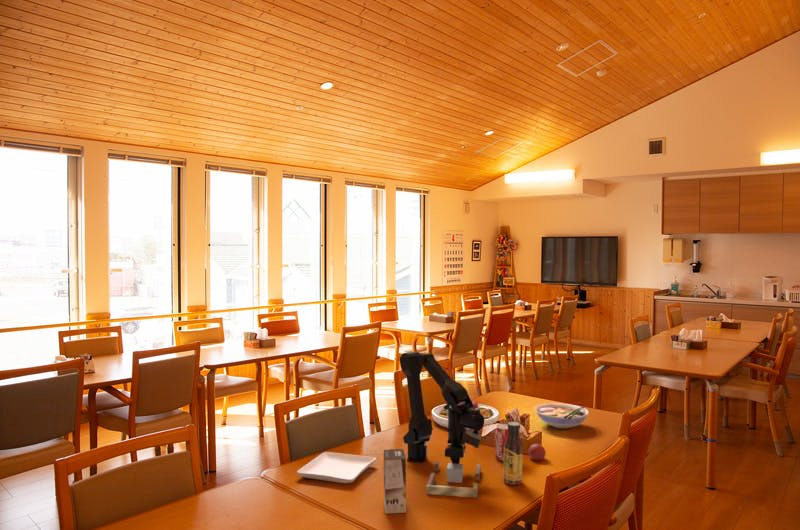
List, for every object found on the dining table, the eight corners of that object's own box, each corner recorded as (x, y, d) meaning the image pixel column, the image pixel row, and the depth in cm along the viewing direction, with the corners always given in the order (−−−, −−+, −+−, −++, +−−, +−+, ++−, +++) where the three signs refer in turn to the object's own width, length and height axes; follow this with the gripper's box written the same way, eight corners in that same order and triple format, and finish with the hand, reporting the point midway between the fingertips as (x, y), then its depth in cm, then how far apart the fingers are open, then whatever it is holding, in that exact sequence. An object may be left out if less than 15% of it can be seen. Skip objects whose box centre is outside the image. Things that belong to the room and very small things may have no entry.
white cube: (446, 481, 191) (446, 468, 191) (448, 476, 196) (448, 463, 196) (461, 482, 190) (461, 469, 190) (463, 477, 195) (463, 464, 195)
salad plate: (295, 480, 194) (295, 470, 194) (324, 459, 214) (324, 450, 214) (352, 489, 187) (352, 479, 186) (377, 466, 206) (377, 457, 206)
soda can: (514, 462, 209) (514, 429, 208) (494, 461, 210) (494, 428, 210) (514, 455, 216) (514, 424, 215) (495, 454, 217) (495, 423, 217)
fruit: (527, 462, 214) (520, 446, 211) (536, 452, 217) (529, 436, 214) (541, 467, 209) (534, 451, 206) (549, 456, 212) (542, 440, 210)
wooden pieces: (426, 493, 182) (426, 486, 182) (435, 468, 204) (435, 461, 204) (476, 497, 179) (476, 489, 179) (480, 471, 201) (480, 464, 201)
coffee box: (406, 513, 168) (406, 459, 168) (384, 514, 168) (384, 459, 168) (403, 499, 178) (403, 448, 177) (383, 500, 177) (382, 449, 177)
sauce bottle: (499, 480, 192) (499, 421, 192) (515, 477, 195) (515, 419, 194) (510, 487, 186) (510, 426, 186) (526, 484, 189) (526, 424, 188)
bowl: (504, 432, 244) (503, 414, 244) (433, 432, 245) (433, 414, 244) (493, 413, 274) (493, 396, 274) (430, 413, 275) (430, 396, 274)
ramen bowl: (547, 415, 268) (547, 398, 268) (596, 424, 255) (596, 405, 255) (525, 429, 248) (525, 410, 248) (577, 439, 235) (577, 419, 234)
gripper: (478, 433, 186) (478, 481, 187) (481, 417, 205) (481, 460, 205) (444, 431, 188) (444, 478, 189) (450, 415, 207) (450, 458, 207)
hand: (456, 468), depth 197 cm, fingers closed
